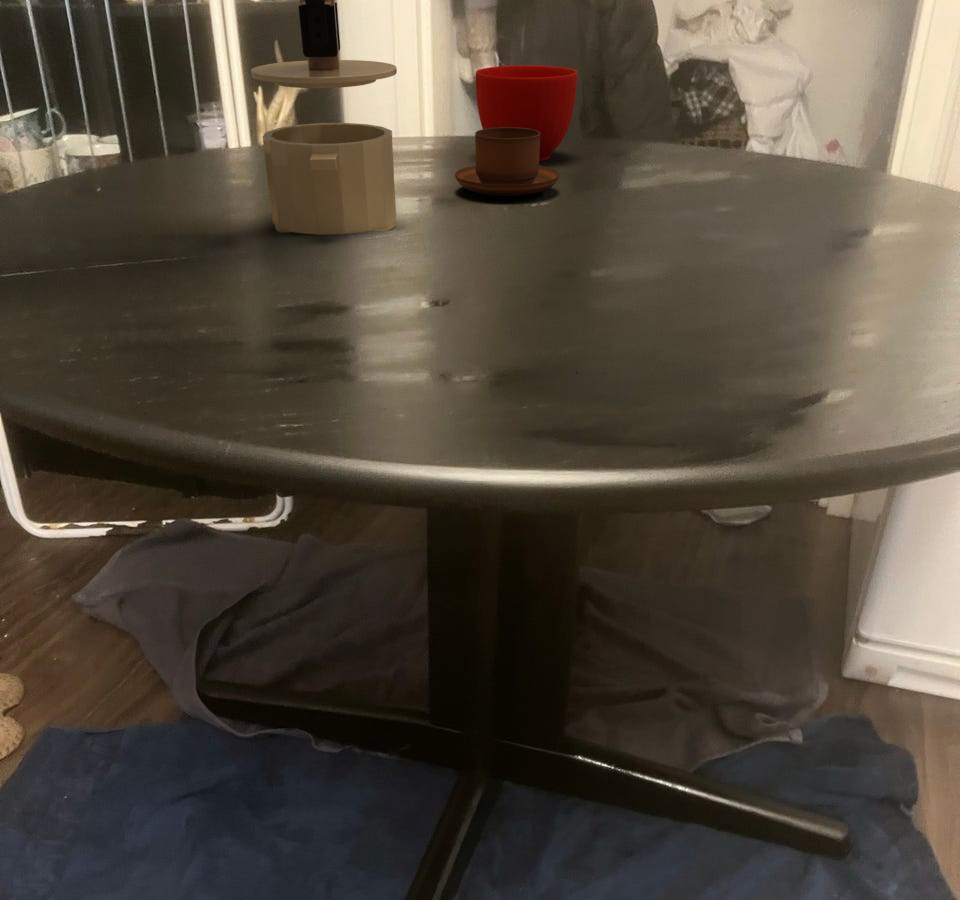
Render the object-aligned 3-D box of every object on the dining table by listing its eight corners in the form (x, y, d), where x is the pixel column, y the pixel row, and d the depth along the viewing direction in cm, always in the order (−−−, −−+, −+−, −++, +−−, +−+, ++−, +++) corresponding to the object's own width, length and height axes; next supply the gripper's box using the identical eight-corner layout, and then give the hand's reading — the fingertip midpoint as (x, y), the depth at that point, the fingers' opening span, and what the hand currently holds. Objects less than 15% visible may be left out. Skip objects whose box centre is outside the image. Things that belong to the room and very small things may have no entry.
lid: (243, 92, 88) (230, -2, 84) (261, 73, 99) (251, -11, 95) (396, 90, 88) (391, -4, 84) (397, 71, 100) (393, -13, 95)
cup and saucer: (450, 182, 118) (448, 125, 114) (547, 179, 119) (549, 122, 115) (461, 205, 108) (461, 143, 104) (568, 201, 109) (571, 140, 106)
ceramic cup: (563, 143, 138) (567, 61, 132) (579, 166, 125) (584, 77, 119) (472, 144, 138) (471, 62, 132) (478, 168, 124) (478, 78, 118)
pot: (264, 248, 94) (252, 151, 89) (283, 205, 108) (273, 119, 103) (395, 246, 94) (390, 149, 89) (397, 203, 109) (393, 118, 104)
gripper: (266, -192, 88) (290, 46, 99) (241, -212, 75) (272, 65, 86) (349, -192, 88) (365, 45, 99) (339, -212, 75) (358, 64, 86)
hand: (322, 52), depth 92 cm, fingers closed on lid, 3 cm apart
